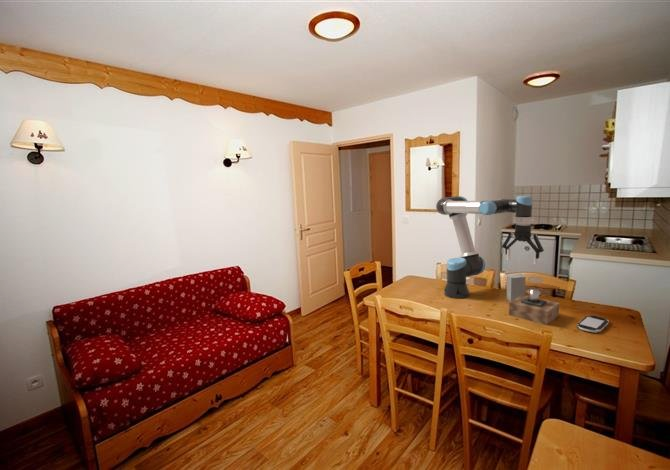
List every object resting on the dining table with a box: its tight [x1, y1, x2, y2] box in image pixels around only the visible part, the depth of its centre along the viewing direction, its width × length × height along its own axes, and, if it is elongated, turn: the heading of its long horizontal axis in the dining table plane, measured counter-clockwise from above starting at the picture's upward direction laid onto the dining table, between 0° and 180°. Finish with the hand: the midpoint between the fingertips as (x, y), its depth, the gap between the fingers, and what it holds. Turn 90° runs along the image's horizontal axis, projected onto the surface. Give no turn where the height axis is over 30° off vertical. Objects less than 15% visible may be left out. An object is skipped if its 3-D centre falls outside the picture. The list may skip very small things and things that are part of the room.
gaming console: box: [576, 315, 609, 334], centre depth 153 cm, size 19×9×2 cm, turn 126°
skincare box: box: [506, 273, 526, 302], centre depth 189 cm, size 8×7×16 cm
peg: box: [529, 288, 540, 303], centre depth 167 cm, size 4×4×8 cm
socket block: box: [508, 294, 560, 326], centre depth 168 cm, size 18×16×8 cm
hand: (521, 262), depth 176 cm, fingers open, 13 cm apart
